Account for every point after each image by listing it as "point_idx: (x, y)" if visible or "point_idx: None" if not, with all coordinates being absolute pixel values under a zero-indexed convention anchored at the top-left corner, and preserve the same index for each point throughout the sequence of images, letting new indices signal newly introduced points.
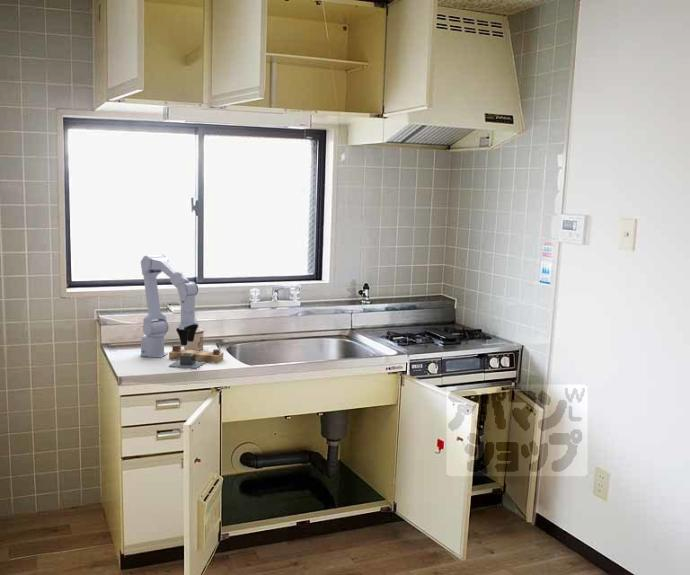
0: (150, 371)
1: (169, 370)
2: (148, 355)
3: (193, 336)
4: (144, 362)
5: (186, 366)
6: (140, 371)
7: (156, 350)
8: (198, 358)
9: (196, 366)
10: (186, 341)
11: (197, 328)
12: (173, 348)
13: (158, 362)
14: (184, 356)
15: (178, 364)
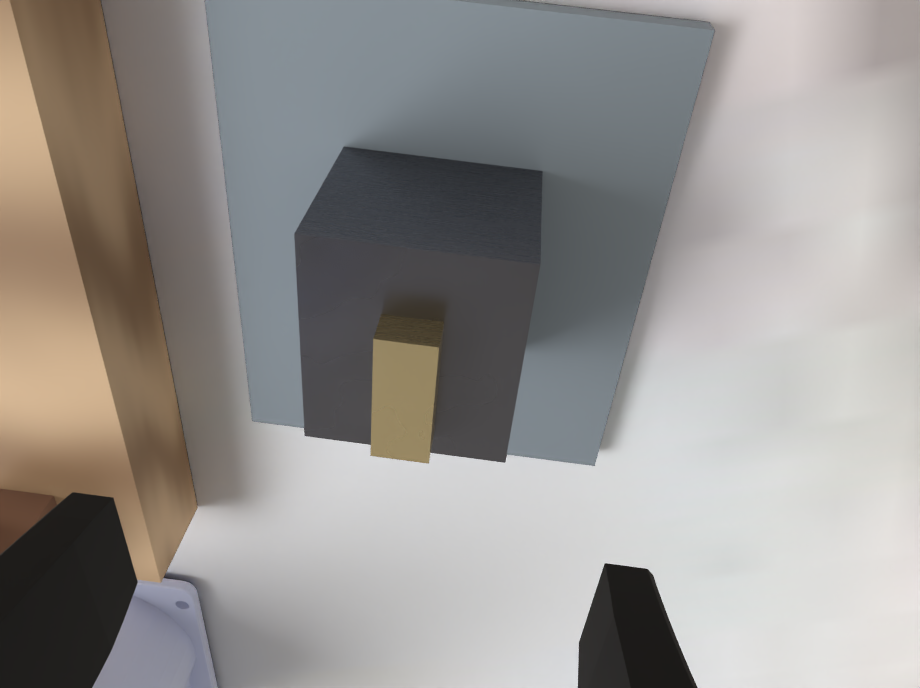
0: (837, 576)
1: (792, 414)
2: (194, 673)
3: (8, 626)
4: (430, 658)
5: (623, 239)
6: (831, 644)
7: (151, 684)
8: (98, 153)
9: (602, 62)
10: (695, 683)
11: None
12: None
13: (389, 568)
14: (517, 386)
15: None
